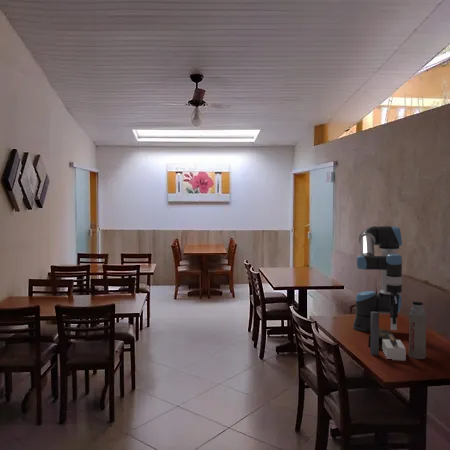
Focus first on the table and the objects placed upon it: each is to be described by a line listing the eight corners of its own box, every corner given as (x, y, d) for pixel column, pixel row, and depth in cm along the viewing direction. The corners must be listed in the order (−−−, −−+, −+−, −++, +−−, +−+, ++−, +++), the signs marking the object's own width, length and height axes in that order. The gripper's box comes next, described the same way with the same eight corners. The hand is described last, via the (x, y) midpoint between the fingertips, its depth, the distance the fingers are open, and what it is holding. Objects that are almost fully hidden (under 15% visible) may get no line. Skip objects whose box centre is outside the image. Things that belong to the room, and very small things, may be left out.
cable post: (370, 352, 237) (370, 311, 236) (377, 353, 236) (378, 311, 235) (371, 355, 233) (371, 313, 232) (379, 355, 232) (379, 313, 232)
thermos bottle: (413, 359, 226) (414, 304, 225) (406, 354, 234) (406, 300, 233) (428, 358, 227) (429, 303, 226) (420, 353, 235) (421, 300, 234)
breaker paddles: (389, 340, 238) (387, 334, 238) (393, 338, 237) (391, 333, 237) (392, 345, 228) (390, 340, 228) (397, 344, 228) (395, 338, 228)
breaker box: (382, 350, 241) (382, 339, 241) (400, 351, 239) (400, 339, 239) (386, 359, 226) (386, 347, 226) (405, 360, 225) (405, 348, 224)
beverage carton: (391, 340, 259) (391, 329, 258) (382, 349, 243) (382, 337, 242) (377, 338, 263) (377, 327, 263) (367, 347, 247) (367, 335, 247)
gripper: (384, 282, 238) (384, 326, 239) (388, 286, 226) (388, 332, 227) (399, 282, 237) (399, 326, 238) (404, 286, 224) (403, 333, 225)
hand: (393, 329), depth 232 cm, fingers closed
